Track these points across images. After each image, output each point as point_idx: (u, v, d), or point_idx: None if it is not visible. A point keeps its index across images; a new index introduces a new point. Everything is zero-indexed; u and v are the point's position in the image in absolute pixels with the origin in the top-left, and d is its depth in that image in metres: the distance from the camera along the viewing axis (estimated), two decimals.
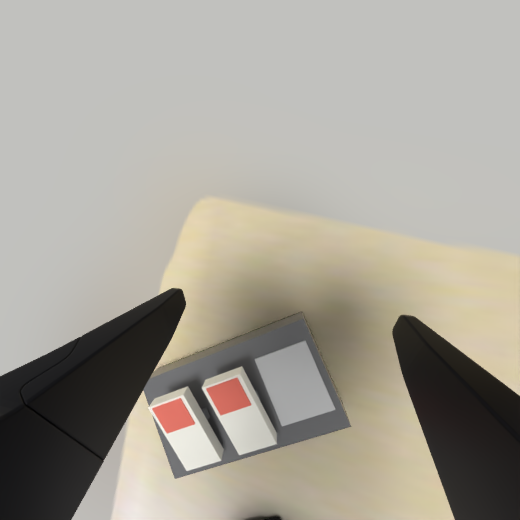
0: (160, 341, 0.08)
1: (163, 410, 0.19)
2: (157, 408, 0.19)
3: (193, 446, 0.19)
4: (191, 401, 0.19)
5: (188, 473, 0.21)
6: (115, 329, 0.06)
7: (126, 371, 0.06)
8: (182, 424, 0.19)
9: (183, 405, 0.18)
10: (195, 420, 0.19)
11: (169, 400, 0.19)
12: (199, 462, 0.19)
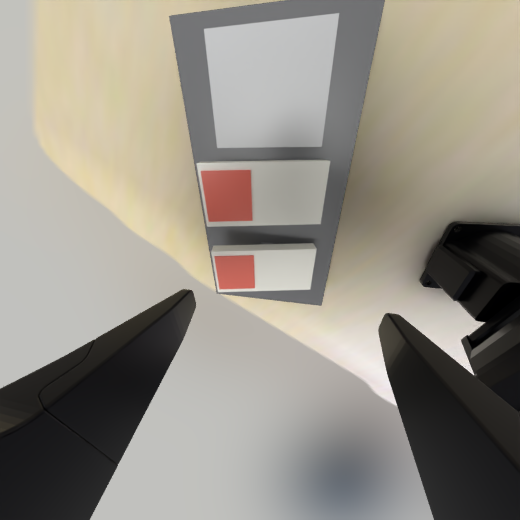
0: (172, 343, 0.07)
1: (225, 279, 0.16)
2: (221, 284, 0.16)
3: (283, 270, 0.16)
4: (228, 248, 0.15)
5: (322, 291, 0.18)
6: (129, 331, 0.06)
7: (140, 374, 0.06)
8: (250, 269, 0.16)
9: (224, 257, 0.15)
10: (250, 254, 0.15)
11: (215, 269, 0.16)
12: (306, 272, 0.16)
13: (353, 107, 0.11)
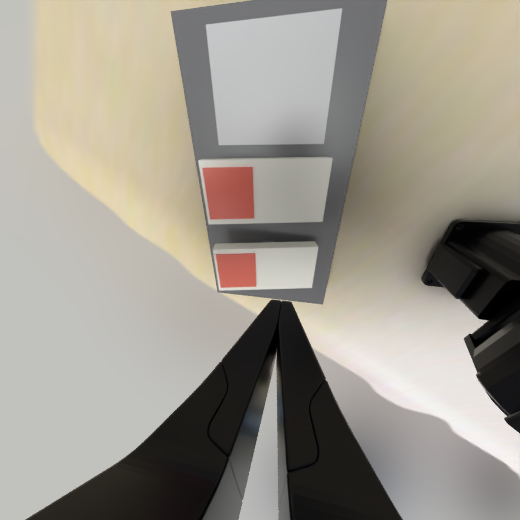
0: (273, 360, 0.07)
1: (227, 278, 0.16)
2: (223, 283, 0.16)
3: (285, 268, 0.16)
4: (229, 246, 0.15)
5: (323, 290, 0.18)
6: (252, 351, 0.05)
7: (261, 398, 0.06)
8: (252, 267, 0.16)
9: (226, 255, 0.15)
10: (251, 252, 0.15)
11: (216, 267, 0.16)
12: (308, 271, 0.16)
13: (356, 104, 0.11)
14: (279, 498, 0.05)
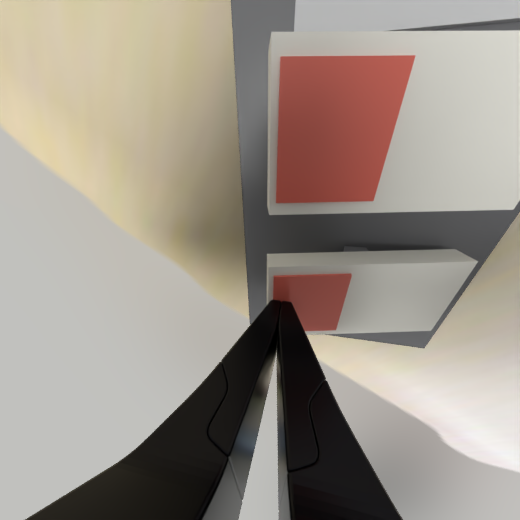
0: (273, 360, 0.07)
1: None
2: None
3: (397, 300, 0.08)
4: (299, 259, 0.08)
5: (434, 328, 0.11)
6: (252, 351, 0.05)
7: (260, 398, 0.06)
8: (336, 299, 0.08)
9: (294, 277, 0.07)
10: (345, 271, 0.07)
11: (270, 298, 0.08)
12: (437, 304, 0.09)
13: None
14: (279, 498, 0.05)
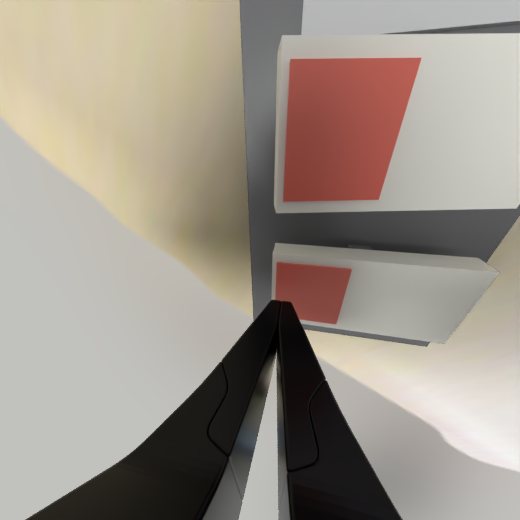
0: (273, 360, 0.07)
1: None
2: None
3: (402, 303, 0.08)
4: (303, 250, 0.08)
5: None
6: (252, 351, 0.05)
7: (261, 398, 0.06)
8: (337, 293, 0.09)
9: (295, 266, 0.08)
10: (345, 265, 0.08)
11: (273, 283, 0.09)
12: (450, 314, 0.08)
13: None
14: (279, 498, 0.05)
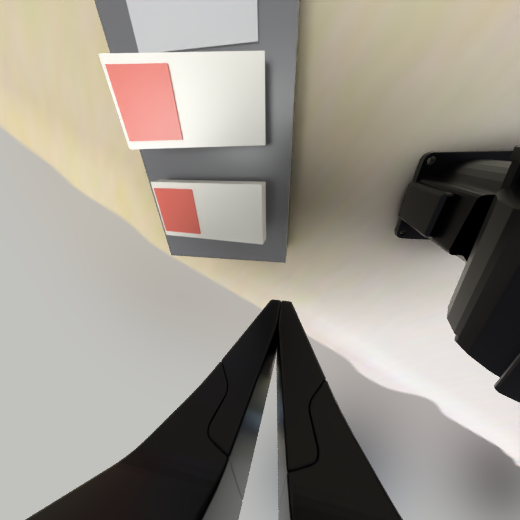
0: (273, 360, 0.07)
1: (170, 219, 0.15)
2: (168, 225, 0.15)
3: (227, 213, 0.13)
4: (169, 180, 0.14)
5: (284, 244, 0.16)
6: (252, 351, 0.05)
7: (261, 398, 0.06)
8: (192, 208, 0.14)
9: (163, 189, 0.13)
10: (188, 187, 0.13)
11: (158, 205, 0.14)
12: (254, 219, 0.13)
13: None
14: (279, 498, 0.05)
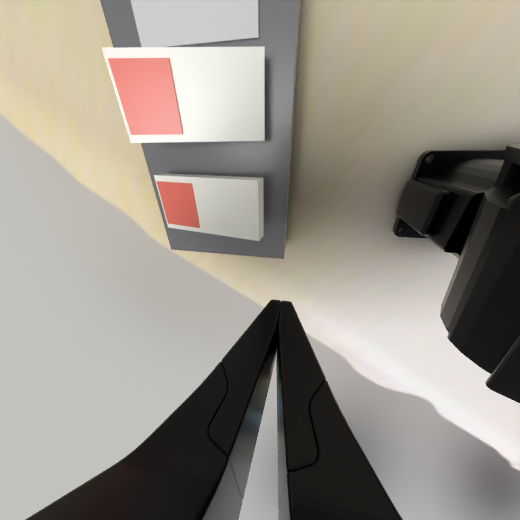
0: (273, 360, 0.07)
1: (172, 212, 0.15)
2: (169, 218, 0.16)
3: (225, 208, 0.13)
4: (171, 174, 0.14)
5: (282, 240, 0.16)
6: (252, 351, 0.05)
7: (260, 398, 0.06)
8: (192, 202, 0.14)
9: (165, 183, 0.14)
10: (188, 181, 0.13)
11: None
12: (250, 215, 0.13)
13: None
14: (279, 498, 0.05)
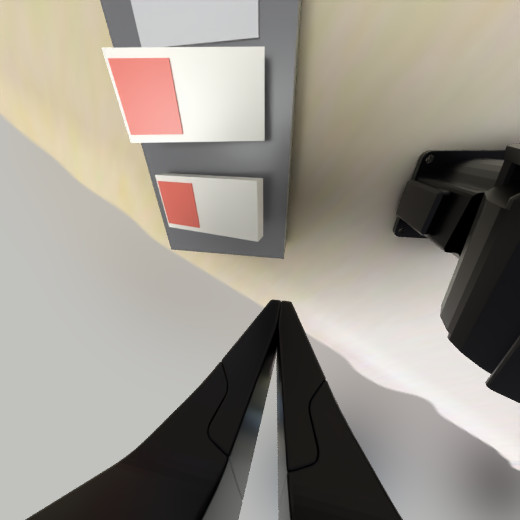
0: (273, 360, 0.07)
1: (172, 212, 0.15)
2: (170, 218, 0.16)
3: (224, 208, 0.13)
4: (172, 174, 0.14)
5: (282, 240, 0.16)
6: (252, 351, 0.05)
7: (260, 398, 0.06)
8: (192, 202, 0.14)
9: (166, 182, 0.14)
10: (188, 181, 0.13)
11: None
12: (250, 216, 0.13)
13: None
14: (279, 498, 0.05)
